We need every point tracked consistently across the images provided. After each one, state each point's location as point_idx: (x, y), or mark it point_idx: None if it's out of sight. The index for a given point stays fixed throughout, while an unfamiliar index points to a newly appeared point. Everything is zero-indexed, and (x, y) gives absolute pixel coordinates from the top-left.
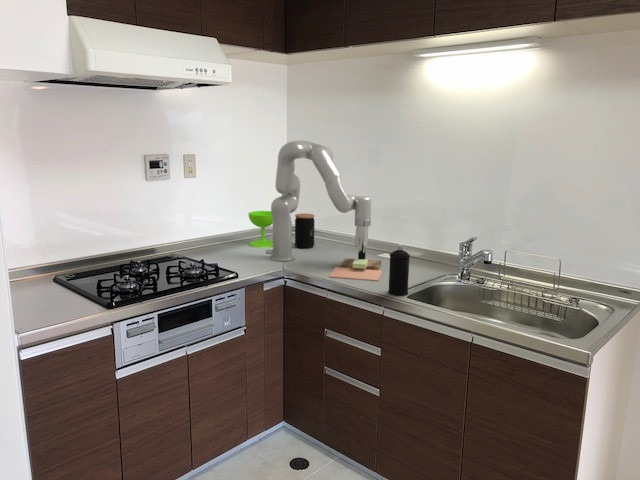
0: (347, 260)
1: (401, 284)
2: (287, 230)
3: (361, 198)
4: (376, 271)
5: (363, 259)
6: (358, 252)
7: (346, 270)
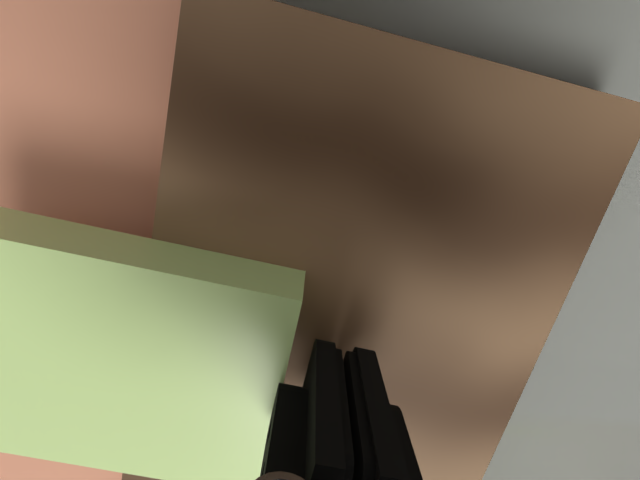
0: (475, 140)
1: None
2: None
3: None
4: (72, 475)
5: (263, 431)
6: (317, 459)
7: (25, 101)
